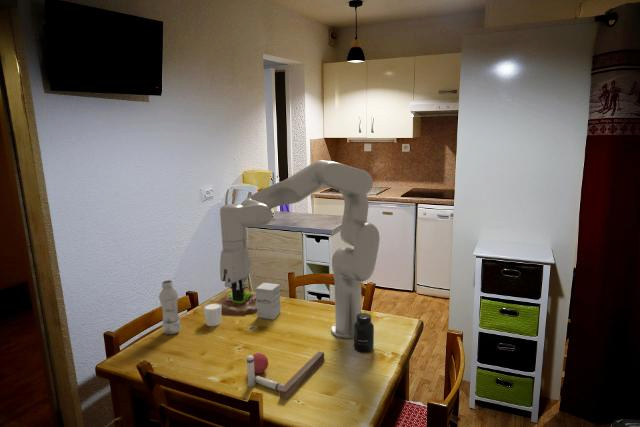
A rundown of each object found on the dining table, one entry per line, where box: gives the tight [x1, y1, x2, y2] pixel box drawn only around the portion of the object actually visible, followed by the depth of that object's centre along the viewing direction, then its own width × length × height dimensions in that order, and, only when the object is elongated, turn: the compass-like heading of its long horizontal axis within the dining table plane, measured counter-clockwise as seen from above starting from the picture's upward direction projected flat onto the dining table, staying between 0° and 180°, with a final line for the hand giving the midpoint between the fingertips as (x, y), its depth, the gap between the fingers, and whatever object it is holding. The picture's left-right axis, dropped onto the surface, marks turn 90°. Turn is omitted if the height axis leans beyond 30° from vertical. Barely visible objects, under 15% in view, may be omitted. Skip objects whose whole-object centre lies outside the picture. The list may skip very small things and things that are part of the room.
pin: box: [255, 375, 284, 392], centre depth 130 cm, size 2×2×9 cm
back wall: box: [278, 350, 325, 400], centre depth 134 cm, size 2×24×2 cm, turn 153°
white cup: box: [203, 302, 222, 327], centre depth 174 cm, size 7×7×7 cm
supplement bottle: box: [353, 312, 375, 354], centre depth 150 cm, size 7×7×12 cm
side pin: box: [246, 354, 256, 388], centre depth 130 cm, size 2×2×9 cm
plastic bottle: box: [158, 279, 182, 335], centre depth 165 cm, size 6×7×20 cm
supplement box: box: [255, 282, 281, 321], centre depth 179 cm, size 7×7×13 cm
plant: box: [216, 283, 257, 316], centre depth 190 cm, size 20×20×11 cm
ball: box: [252, 352, 269, 374], centre depth 138 cm, size 6×6×6 cm
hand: (238, 300), depth 141 cm, fingers closed
